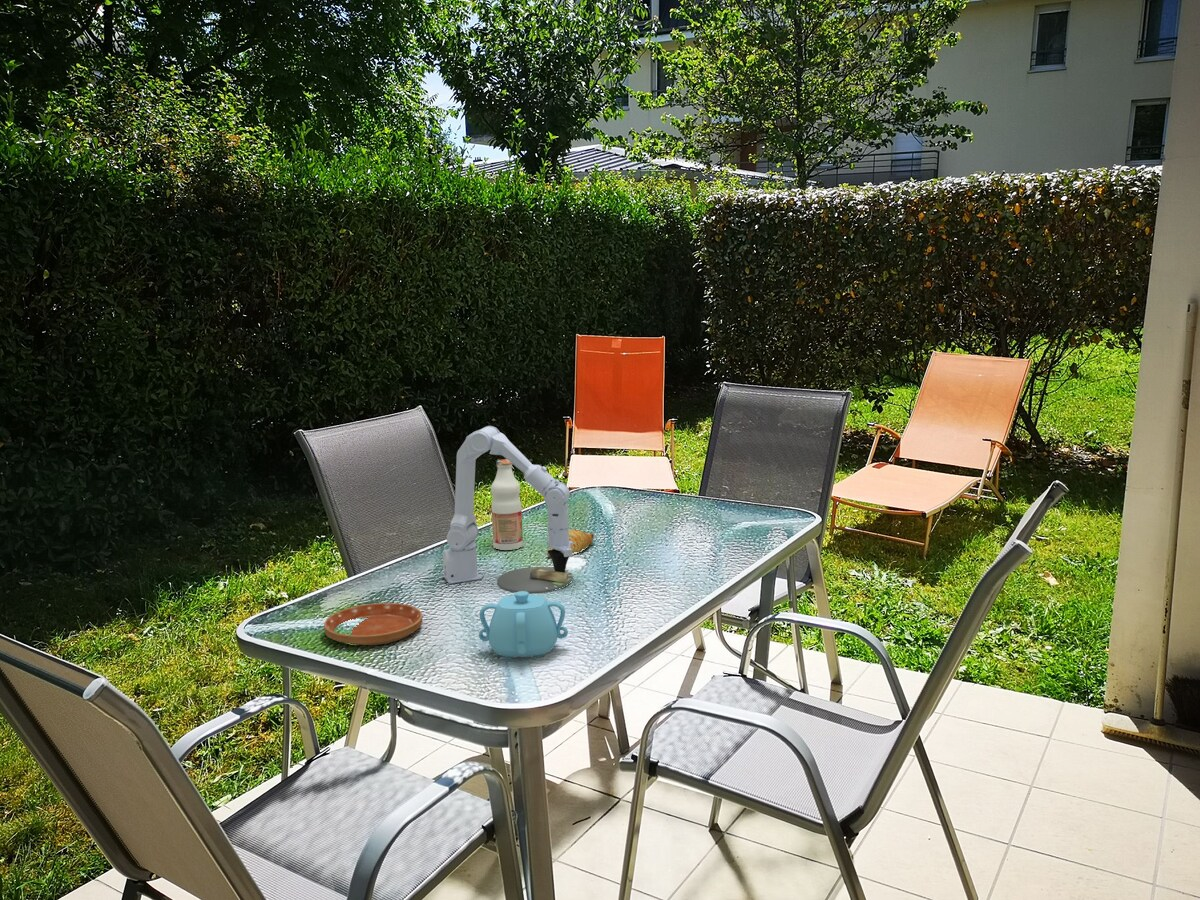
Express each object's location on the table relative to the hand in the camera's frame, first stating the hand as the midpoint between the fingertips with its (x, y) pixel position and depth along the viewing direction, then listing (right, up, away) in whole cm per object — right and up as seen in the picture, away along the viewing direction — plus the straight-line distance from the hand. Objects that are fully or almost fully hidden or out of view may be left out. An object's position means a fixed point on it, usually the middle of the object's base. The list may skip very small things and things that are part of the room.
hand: (560, 575), depth 251 cm
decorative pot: (-6, -11, -47) cm, 48 cm away
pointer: (-3, -1, -1) cm, 4 cm away
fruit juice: (-18, +4, +36) cm, 40 cm away
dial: (-7, -2, +2) cm, 7 cm away
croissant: (+2, +3, +30) cm, 31 cm away
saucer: (-43, -9, -33) cm, 55 cm away
